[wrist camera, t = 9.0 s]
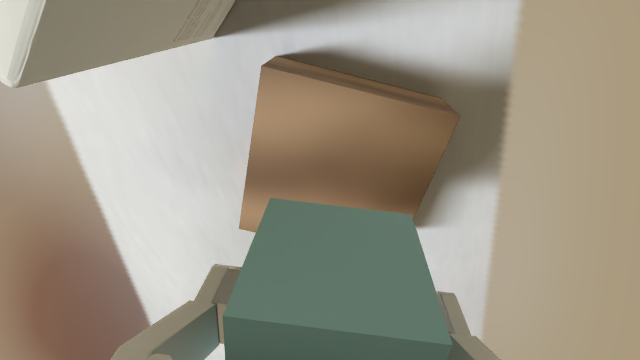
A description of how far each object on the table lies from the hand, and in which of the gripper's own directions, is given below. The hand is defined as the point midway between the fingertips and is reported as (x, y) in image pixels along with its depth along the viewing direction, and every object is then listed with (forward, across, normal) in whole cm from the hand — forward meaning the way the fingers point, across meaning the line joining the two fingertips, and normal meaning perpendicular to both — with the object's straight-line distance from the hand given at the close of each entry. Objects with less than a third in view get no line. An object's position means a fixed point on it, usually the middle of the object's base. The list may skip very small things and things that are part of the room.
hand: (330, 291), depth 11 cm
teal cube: (+2, 0, 0) cm, 2 cm away
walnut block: (+12, 0, 0) cm, 12 cm away
